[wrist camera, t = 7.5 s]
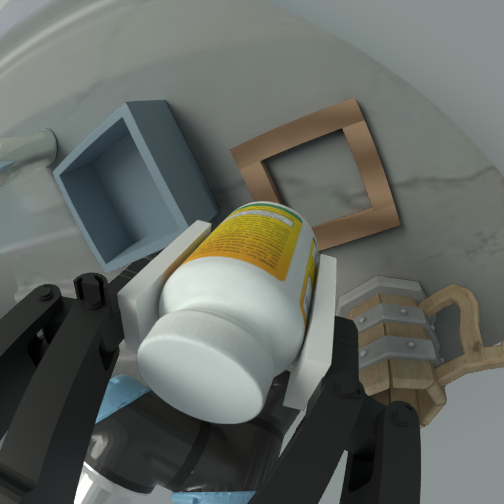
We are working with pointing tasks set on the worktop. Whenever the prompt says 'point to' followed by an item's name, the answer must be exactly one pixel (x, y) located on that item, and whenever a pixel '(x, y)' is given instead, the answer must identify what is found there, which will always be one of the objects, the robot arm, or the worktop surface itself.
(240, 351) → the supplement bottle
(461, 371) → the tankard
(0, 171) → the beer glass
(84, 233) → the bin
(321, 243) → the socket frame
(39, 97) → the worktop surface
